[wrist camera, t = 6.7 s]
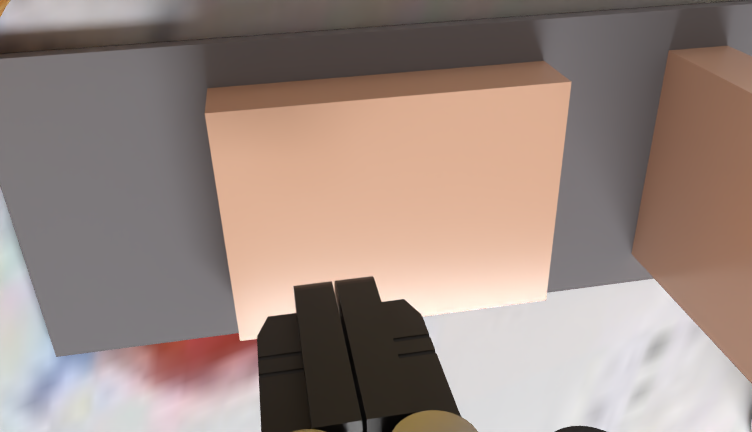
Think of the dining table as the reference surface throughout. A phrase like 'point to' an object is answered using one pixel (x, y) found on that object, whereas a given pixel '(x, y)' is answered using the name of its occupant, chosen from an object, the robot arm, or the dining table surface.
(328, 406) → the robot arm
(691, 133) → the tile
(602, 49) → the runner mat
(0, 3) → the croissant
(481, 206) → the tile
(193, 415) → the dining table surface
